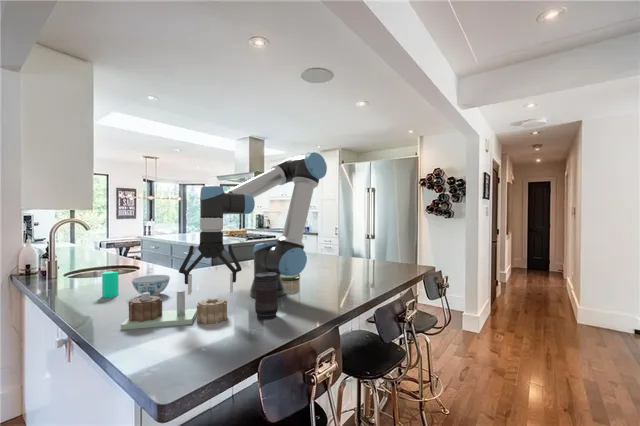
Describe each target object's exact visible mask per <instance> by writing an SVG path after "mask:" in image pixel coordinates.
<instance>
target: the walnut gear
mask: <svg viewBox="0 0 640 426" xmlns="http://www.w3.org/2000/svg"><path fill="white" fill-rule="evenodd" d="M162 311H163V298H162V297H161V296H150V300H147V301H141V296H140V297H136V298H134V299H132V300H130V301H128V318H129V319H130V321H131V322H133V321H139V322H144V321H147V320H155V319H156V318H157V317H161V316H162Z"/></svg>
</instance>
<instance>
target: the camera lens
mask: <svg viewBox="0 0 640 426" xmlns="http://www.w3.org/2000/svg"><path fill="white" fill-rule="evenodd" d="M253 280H254V285H255V298H254V308H255V314H256V318H257V319H259V320H264V321H265V320H267V321H268V320H274V319H275V318H276V317H277V313H278V308H279V300H278V298H279V297H278V294H277V289H278V276H277V273H274V272H264V273H258V274H256V275H255V278H254V277H253Z"/></svg>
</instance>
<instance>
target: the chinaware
mask: <svg viewBox="0 0 640 426" xmlns="http://www.w3.org/2000/svg"><path fill="white" fill-rule="evenodd" d="M170 280H171V276H170V275H167V274H153V275H143V276H137V277H134V278H132V279H131V284H132V286H133V288H134V290H135V291H136V292H137V293H139V294H140V295H141V294H142V293H146V292H150V296H158V297H160V295H161V293H162V292H163V291H164V290H165V289H166V288H167V286H168V285H169V282H170Z"/></svg>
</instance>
